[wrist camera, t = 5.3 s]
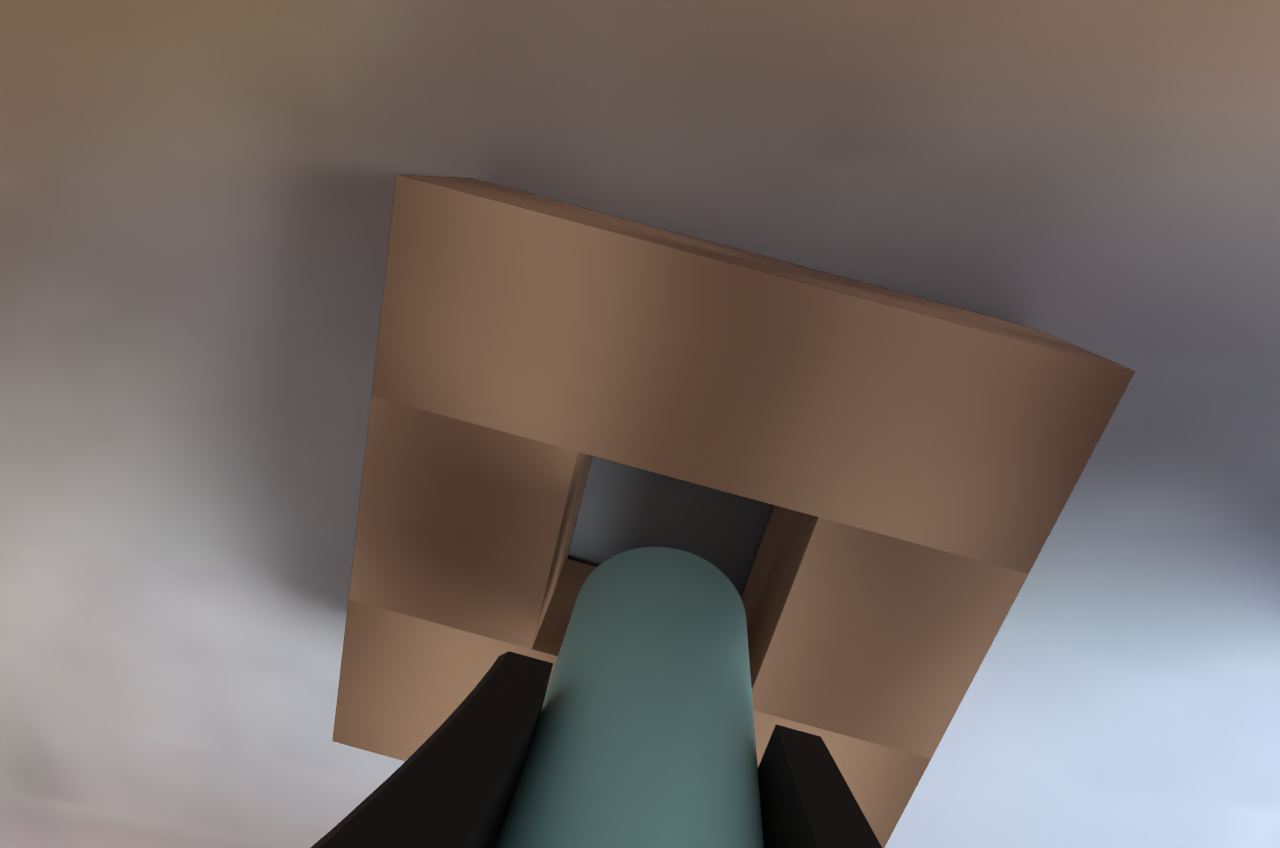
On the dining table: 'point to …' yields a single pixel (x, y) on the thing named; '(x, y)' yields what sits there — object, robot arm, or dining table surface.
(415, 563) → the socket block
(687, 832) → the peg
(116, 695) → the dining table surface
